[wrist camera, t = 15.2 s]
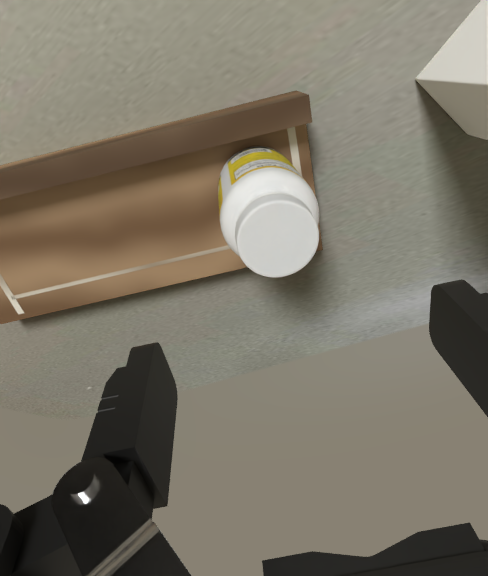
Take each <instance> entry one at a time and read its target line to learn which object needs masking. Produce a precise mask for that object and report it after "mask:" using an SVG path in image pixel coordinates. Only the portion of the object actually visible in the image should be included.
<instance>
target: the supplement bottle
mask: <svg viewBox="0 0 488 576" xmlns="http://www.w3.org/2000/svg"><path fill="white" fill-rule="evenodd" d="M218 199H219V216H220V225H221V230H222V233H223V236H224V239H225V241H226V242H227V244H228V245H229V247H230V248H231V249H232V250H233V251H234V252H235V253H236V254H237V255H238V256H240V258H241V259H242V261H243V262H244V264H245V265H246V266H247V267H248V268H249V269H251V270H252V271H253V272H255V273H257V274H259V275H262V276H266V277H284V276H288V275H291V274H293V273H295V272H297V271H299V270H300V269H302V268H303V267H304V266H306V265H307V264H308V262H309V261H310V260H311V259H312V257H313V256H314V254H315V252H316V250H317V247H318V242H319V230H318V223H319V207H318V202H317V199H316V197H315V195H314V193H313V191H312V189H311V188H310V186H309V185H308V183H307V182H306V181H305V180H304V179H303V177H302V176H301V175H300V174H299V172H298V171H297V170H296V169H295V167H294V166H293V165H292V164H291V162H290V161H289V160H288V159H287V158H286V157H285V156H284V155H282V154H281V153H280V152H278V151H276V150H274V149H272V148H268V147H263V146H254V147H248V148H245V149H243V150H241V151H239V152H237V153H236V154H234V155H233V156H232V157H231V158H230V159H229V160H228V161H227V162H226V164H225V165H224V167H223V169H222V171H221V173H220V177H219V182H218Z"/></svg>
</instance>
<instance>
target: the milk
mask: <svg viewBox="0 0 488 576" xmlns="http://www.w3.org/2000/svg"><path fill="white" fill-rule="evenodd" d="M416 81H417V82H418V83H419V84H420V85H421V86H422V87H423V88H424V89H425V90H426V91H427V92H428V93H429V94H430V96H431V97H432V98H433V99H434V100H435V101H436V102H437V103H438V104H439V105H440V106H441V107H442V108H443V109H444V110H445V111H446V112H447V113H448V115H449V116H450V117H451V118H452V119H453V120H454V121H455V122H456V123H457V124H458V125H459V126H460V127H461V128H462V129H463V130H464V131H465V132H466V134H468V135H471V136H474V137H478V138H482V139H485V140H488V0H481V1H480V2H479V3H478V4H477V6H476V7H475V8H474V9H473V10H472V12H471V13H470V14H469V15H468V16H467V18H466V19H465V20H464V21H463V22H462V24H461V25H460V26H459V27H458V28H457V30H456V31H455V32H454V33H453V34H452V35H451V37H450V38H449V39H448V40H447V41H446V43H445V44H444V45H443V46H442V47H441V49H440V50H439V51H438V52H437V53H436V55H435V56H434V57H433V58H432V59H431V61H430V62H429V63H428V64H427V65H426V67H425V68H424V69H423V70H422V71H421V72H420V74H419V75H418V76H417V77H416Z"/></svg>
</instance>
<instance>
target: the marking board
mask: <svg viewBox="0 0 488 576" xmlns="http://www.w3.org/2000/svg"><path fill="white" fill-rule="evenodd" d="M311 122H312V117H311V109H310V101H309V95H307V94H304V93H301V92H298V91H293V92H289V93H285V94H281V95H277V96H273V97H269V98H265V99H261V100H257V101H253V102H249V103H246V104H242V105H238V106H234V107H230V108H226V109H222V110H218V111H214V112H210V113H206V114H202V115H198V116H194V117H190V118H186V119H182V120H178V121H174V122H170V123H166V124H162V125H158V126H155V127H151V128H147V129H143V130H139V131H135V132H131V133H127V134H123V135H119V136H115V137H111V138H107V139H103V140H99V141H95V142H91V143H87V144H83V145H79V146H75V147H71V148H67V149H64V150H60V151H56V152H52V153H48V154H44V155H40V156H36V157H32V158H28V159H24V160H20V161H16V162H12V163H8V164H4V165H0V324H4V323H8V322H13V321H17V320H21V319H26V318H30V317H34V316H38V315H43V314H47V313H51V312H56V311H60V310H64V309H69V308H73V307H77V306H82V305H86V304H90V303H95V302H99V301H103V300H108V299H112V298H116V297H121V296H125V295H129V294H134V293H138V292H142V291H147V290H151V289H155V288H160V287H164V286H168V285H173V284H177V283H181V282H186V281H190V280H194V279H199V278H203V277H207V276H212V275H216V274H220V273H225V272H229V271H233V270H238V269H242V268H246V267H247V266H246V265H245V264H244V262H243V261H242V259H241V258H240V256H238V255H237V254H236V253H235V252H234V251H233V250H232V249H231V248H230V247H229V245H228V244H227V242H226V241H225V239H224V236H223V233H222V230H221V225H220V216H219V199H218V182H219V177H220V173H221V171H222V169H223V167H224V165H225V164H226V162H227V161H228V160H229V159H230V158H231V157H232V156H233V155H234V154H236V153H237V152H239V151H241V150H243V149H245V148H248V147H254V146H263V147H268V148H272V149H274V150H276V151H278V152H280V153H281V154H282V155H284V156H285V157H286V158H287V159H288V160H289V161H290V162H291V164H292V165H293V166H294V167H295V169H296V170H297V171H298V172H299V174H300V175H301V176H302V177H303V179H304V180H305V181H306V182H307V183H308V185H309V186H310V188H311V189H312V191H313V193H314V195H315V188H314V180H313V172H312V165H311V157H310V150H309V142H308V135H307V127H306V124H307V123H311ZM315 197H316V195H315ZM318 230H319V242H318V247H317V250H316V251H320V250H323V248H322V241H321V233H320V225H319V223H318Z"/></svg>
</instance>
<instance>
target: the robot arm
mask: <svg viewBox="0 0 488 576" xmlns="http://www.w3.org/2000/svg"><path fill="white" fill-rule="evenodd" d="M429 332H430V337H431V340H432V343H433V345H434V347H435V348H436V350H437V351H438V353H439V354H440V355H441V356H442V358H443V359H444V360H445V362H446V363H447V364H448V366H449V367H450V368H451V370H452V371H453V372H454V373H455V375H456V376H457V377H458V379H459V380H460V381H461V382H462V384H463V385H464V386H465V388H466V389H467V391H468V392H469V393H470V394H471V396H472V397H473V398H474V400H475V401H476V402H477V404H478V405H479V406H480V408H481V409H482V410H483V411H484V413H485V414H486V415H487V417H488V293H483V294H480V293H478V292H477V291H476V290H475V289H474V288H473V287H472V286H471V285H469V284H468V283H467V282H466V281H464V280H457V281H452V282H447V283H443V284H438V285H434V286H433V288H432V290H431V304H430V322H429ZM101 398H102V400H101V401H100V404H99V407H98V413H96V417H95V419H94V423H93V426H92V429H91V432H90V436H89V438H88V442H87V445H86V448H85V451H84V454H83V457H82V460H81V462H79V463H78V464H76V465H75V466H73V467H72V468H71V469H70V470H68V471H67V472H66V473H65V474H64V475H63V477H62V478H61V479H60V480H59V482H58V483H57V485H56V487H55V489H54V491H53V494H52V495H50V496H49V497H47V498H45V499H43V500H41V501H39V502H37V503H35V504H33V505H31V506H29V507H27V508H25V509H23V510H21V511H19V512H17V513H15V514H13V513H12V512H11V511H10V510H9V508H8V507H6V506H4V505H1V504H0V576H191V574H190V573H189V572H188V570H187V569H186V567H185V566H184V564H183V563H182V562H181V560H180V558H179V557H178V556H177V554H176V553H175V551H174V550H173V548H172V547H171V546H170V544H169V543H168V541H167V540H166V538H165V537H164V535H163V534H162V533H161V531H160V530H159V528H158V527H157V526H156V524H155V523H154V522H152V512H153V509H155V508H160V507H165V506H167V504H168V493H169V483H170V472H171V462H172V451H173V440H174V430H175V420H176V408H177V388H176V384H175V380H174V377H173V375H172V373H171V370H170V368H169V365H168V363H167V360H166V358H165V355H164V353H163V350H162V348H161V346H160V344H159V343H157V342H156V343H152V344H147V345H142V346H137V347H133V348H132V349H131V351H130V354H129V358H128V362H127V365H126V367H121V368H117V369H116V371H115V372H114V373H113V374H112V376H111V377H110V378H109V380H108V381H107V382H106V385H105V388H104V391H103V394H102V397H101ZM262 563H263V572H264V576H488V541H487V540H479V538H478V537H477V535H476V533H475V531H474V529H473V528H472V526H471V524H470V523H465V524H459V525H454V526H449V527H443V528H437V529H432V530H427V531H421V532H417V533H415V534H413V535H412V536H410V537H408V538H406V539H404V540H402V541H400V542H398V543H396V544H395V545H393V546H391V547H389V548H387V549H385V550H384V551H381V552H380V553H378V554H376V555H373V556H370V557H359V556H350V555H341V554H332V553H321V552H307V553H302V554H296V555H290V556H285V557H280V558H274V559H269V560H263V561H262Z"/></svg>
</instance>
